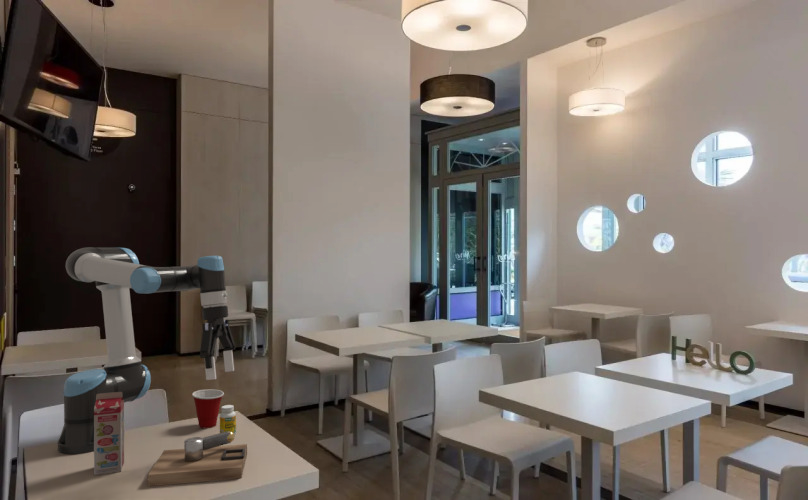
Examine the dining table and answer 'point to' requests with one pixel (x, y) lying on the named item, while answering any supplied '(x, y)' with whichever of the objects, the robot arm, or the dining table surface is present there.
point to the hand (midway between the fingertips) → (220, 375)
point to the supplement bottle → (228, 419)
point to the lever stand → (199, 466)
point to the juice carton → (108, 433)
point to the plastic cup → (207, 406)
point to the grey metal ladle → (205, 444)
